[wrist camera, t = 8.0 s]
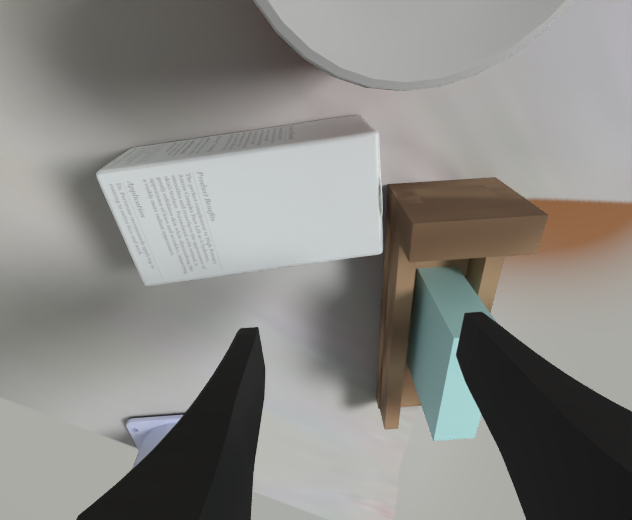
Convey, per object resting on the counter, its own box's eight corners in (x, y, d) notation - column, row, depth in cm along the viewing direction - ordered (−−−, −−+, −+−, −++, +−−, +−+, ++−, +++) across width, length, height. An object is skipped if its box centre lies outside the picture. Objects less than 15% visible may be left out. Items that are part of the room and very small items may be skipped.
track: (449, 392, 30) (475, 451, 26) (376, 397, 30) (389, 458, 26) (495, 177, 21) (548, 215, 16) (388, 184, 20) (413, 223, 16)
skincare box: (163, 247, 22) (367, 220, 22) (138, 292, 18) (385, 260, 18) (124, 141, 19) (363, 111, 19) (83, 169, 15) (384, 131, 15)
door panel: (439, 359, 26) (474, 437, 21) (406, 362, 26) (433, 440, 21) (456, 265, 22) (505, 334, 17) (417, 268, 22) (453, 338, 17)
